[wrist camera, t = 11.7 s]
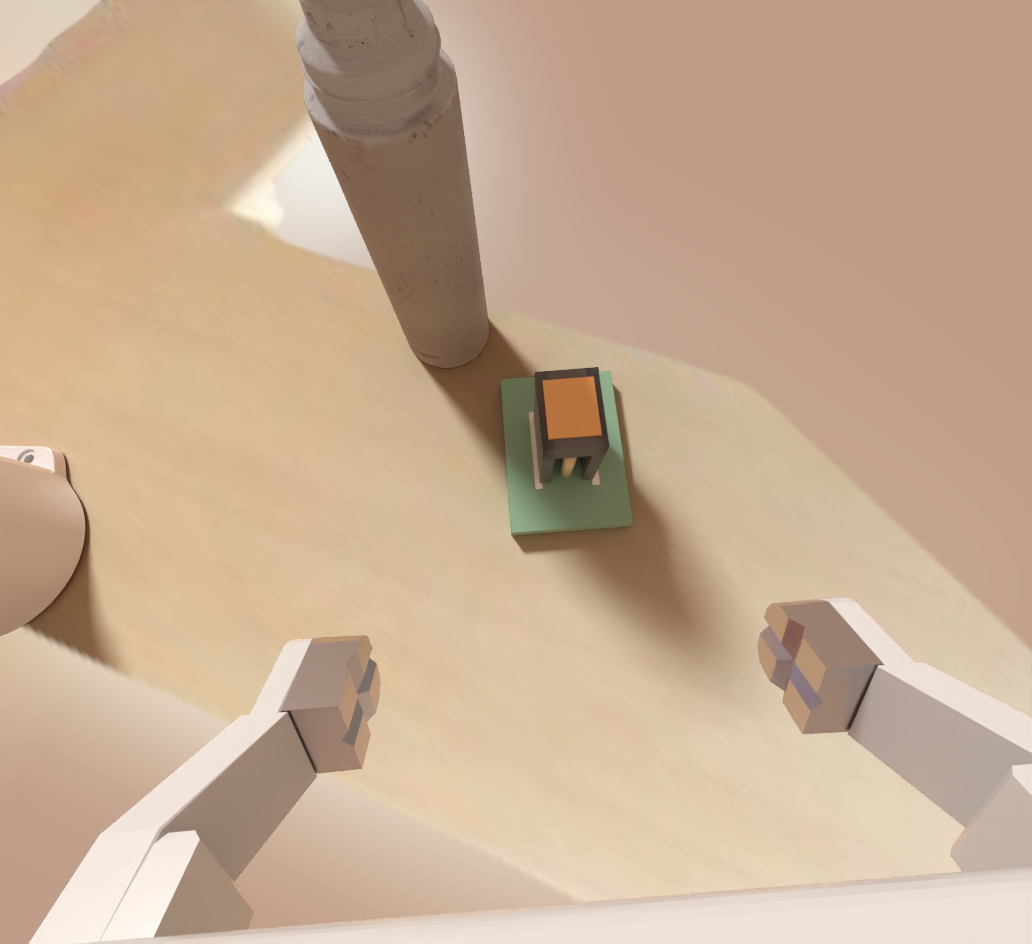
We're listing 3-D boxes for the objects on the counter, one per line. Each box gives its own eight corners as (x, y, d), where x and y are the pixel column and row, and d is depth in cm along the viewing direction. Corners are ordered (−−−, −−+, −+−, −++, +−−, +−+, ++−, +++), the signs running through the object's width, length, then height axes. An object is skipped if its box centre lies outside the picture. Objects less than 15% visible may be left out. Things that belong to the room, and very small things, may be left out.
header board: (629, 526, 39) (646, 511, 34) (511, 535, 39) (509, 522, 34) (607, 378, 43) (620, 343, 38) (501, 386, 43) (497, 352, 38)
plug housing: (593, 479, 39) (610, 445, 31) (539, 483, 39) (543, 450, 31) (584, 413, 41) (598, 365, 33) (533, 417, 41) (535, 370, 33)
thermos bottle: (390, 337, 45) (194, -63, 18) (445, 284, 47) (337, -155, 20) (452, 383, 44) (334, 18, 17) (506, 326, 45) (476, -89, 19)
